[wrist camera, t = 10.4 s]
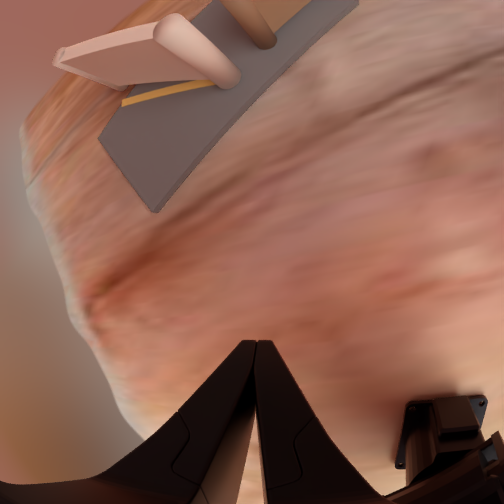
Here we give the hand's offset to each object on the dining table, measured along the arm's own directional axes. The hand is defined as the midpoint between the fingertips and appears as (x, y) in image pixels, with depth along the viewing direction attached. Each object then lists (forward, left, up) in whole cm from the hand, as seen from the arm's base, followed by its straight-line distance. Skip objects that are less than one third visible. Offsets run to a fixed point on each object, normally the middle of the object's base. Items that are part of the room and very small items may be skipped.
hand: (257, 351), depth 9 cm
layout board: (+17, +7, -13) cm, 22 cm away
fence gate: (+16, +11, -12) cm, 23 cm away
